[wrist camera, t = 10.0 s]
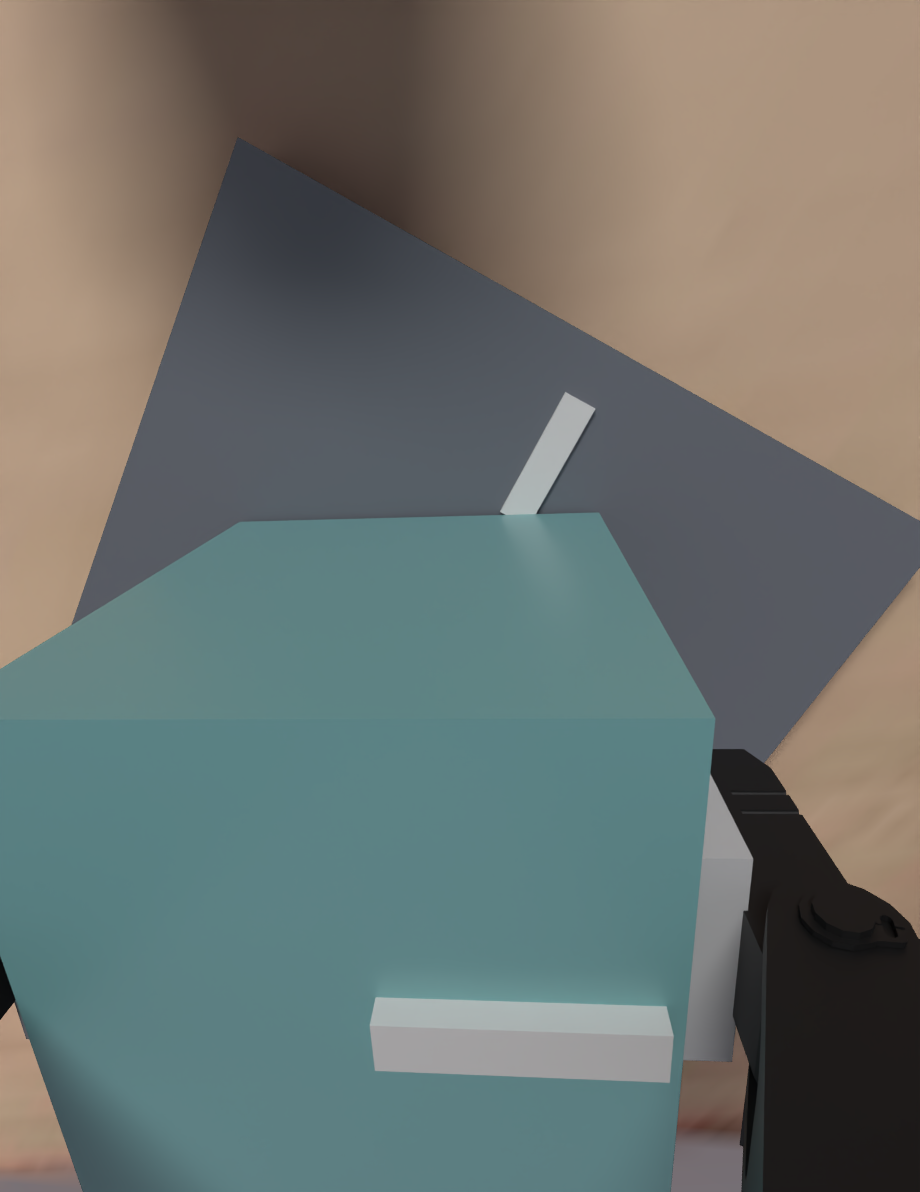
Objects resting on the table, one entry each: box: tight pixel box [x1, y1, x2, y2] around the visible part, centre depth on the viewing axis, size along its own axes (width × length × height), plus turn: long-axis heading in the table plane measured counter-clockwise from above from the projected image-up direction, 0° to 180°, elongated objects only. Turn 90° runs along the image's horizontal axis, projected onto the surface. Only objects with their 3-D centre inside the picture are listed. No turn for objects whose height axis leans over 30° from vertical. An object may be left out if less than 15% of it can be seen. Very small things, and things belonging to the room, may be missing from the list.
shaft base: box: [72, 137, 920, 763], centre depth 12 cm, size 14×14×6 cm
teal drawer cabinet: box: [0, 512, 715, 1192], centre depth 10 cm, size 7×7×8 cm
